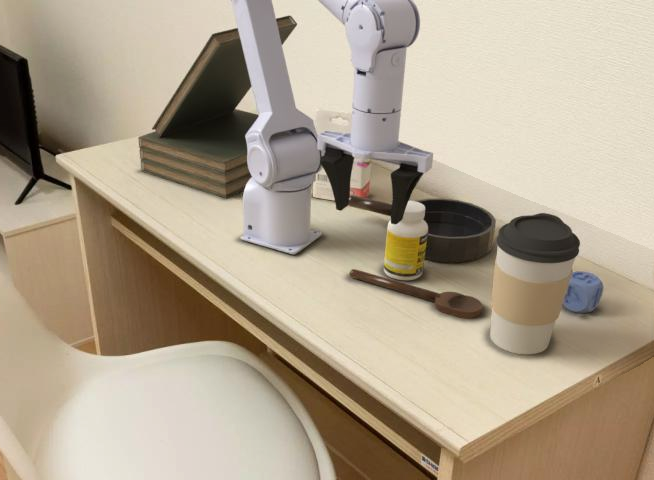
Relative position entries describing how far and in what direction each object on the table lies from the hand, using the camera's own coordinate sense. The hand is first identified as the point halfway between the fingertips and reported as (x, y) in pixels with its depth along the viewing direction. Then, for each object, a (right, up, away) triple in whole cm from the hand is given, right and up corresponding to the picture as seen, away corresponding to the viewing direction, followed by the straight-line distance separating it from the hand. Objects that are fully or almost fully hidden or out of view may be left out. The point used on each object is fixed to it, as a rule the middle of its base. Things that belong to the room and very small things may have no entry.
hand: (369, 214), depth 100 cm
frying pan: (+12, -1, +18) cm, 22 cm away
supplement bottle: (+5, -7, +9) cm, 13 cm away
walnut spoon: (+6, -10, +4) cm, 12 cm away
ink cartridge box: (-2, +8, +32) cm, 33 cm away
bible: (-22, +15, +42) cm, 50 cm away
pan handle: (+2, +4, +21) cm, 22 cm away
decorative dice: (+27, -12, +3) cm, 30 cm away
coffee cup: (+18, -16, -5) cm, 24 cm away
